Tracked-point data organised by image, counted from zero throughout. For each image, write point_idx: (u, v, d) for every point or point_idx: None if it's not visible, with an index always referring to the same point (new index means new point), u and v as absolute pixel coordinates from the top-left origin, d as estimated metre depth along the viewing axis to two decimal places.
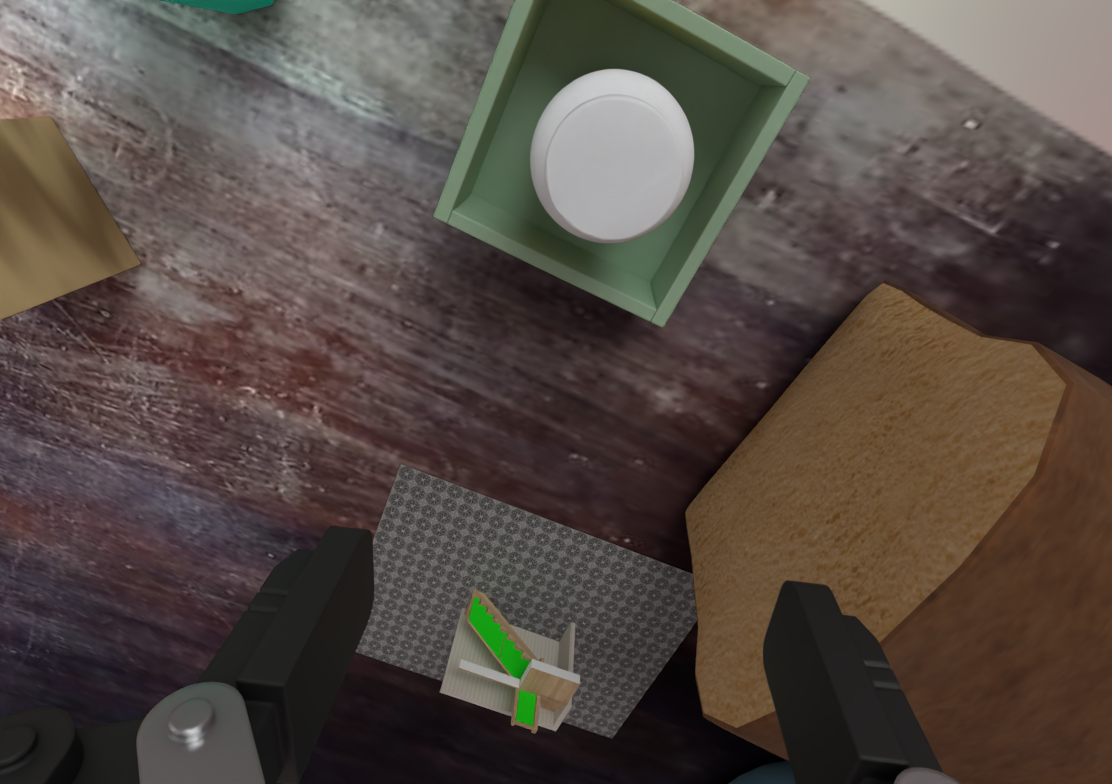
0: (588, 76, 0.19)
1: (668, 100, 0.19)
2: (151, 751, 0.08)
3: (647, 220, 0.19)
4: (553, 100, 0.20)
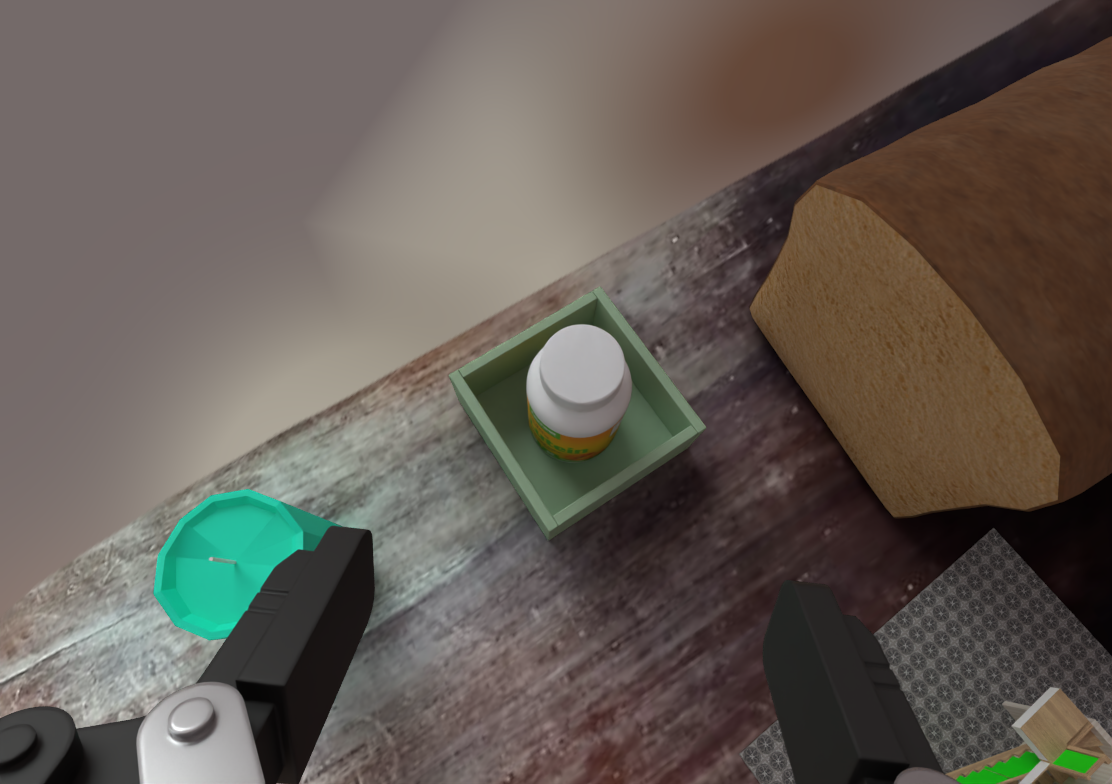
0: (529, 370, 0.32)
1: None
2: (151, 751, 0.08)
3: (619, 359, 0.29)
4: (529, 394, 0.32)
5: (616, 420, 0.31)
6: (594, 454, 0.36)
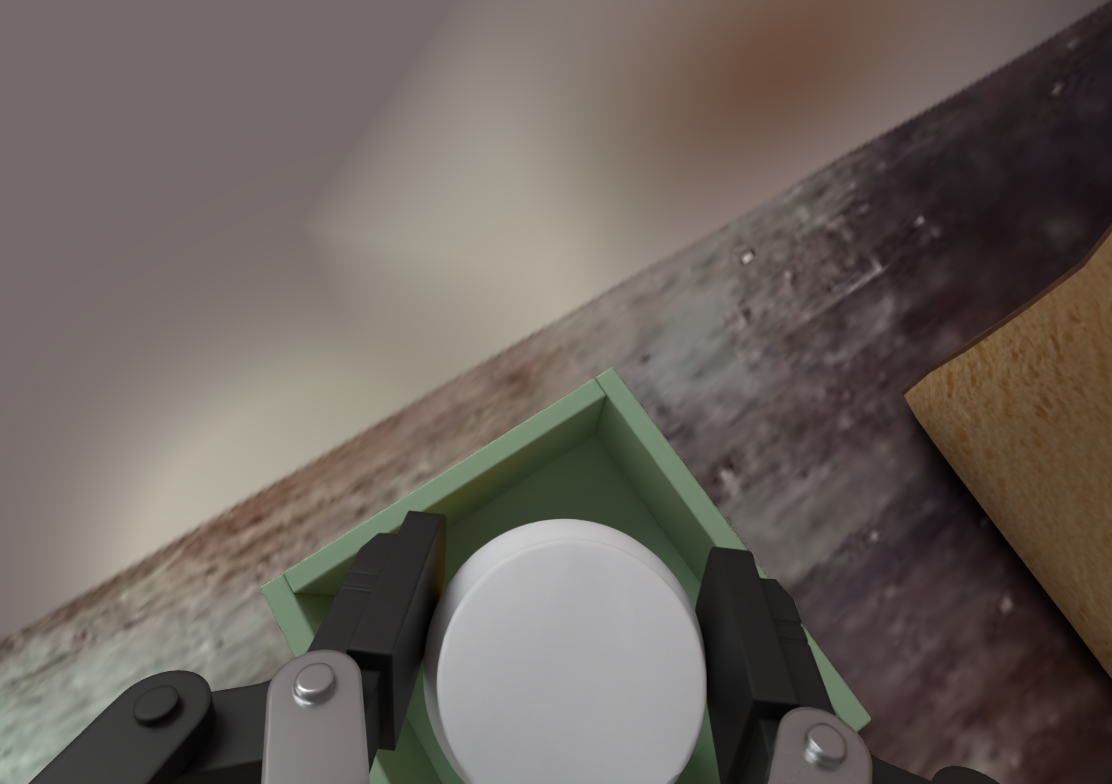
0: (429, 628, 0.12)
1: (529, 530, 0.12)
2: (278, 703, 0.08)
3: (687, 660, 0.09)
4: (426, 703, 0.11)
5: None
6: None
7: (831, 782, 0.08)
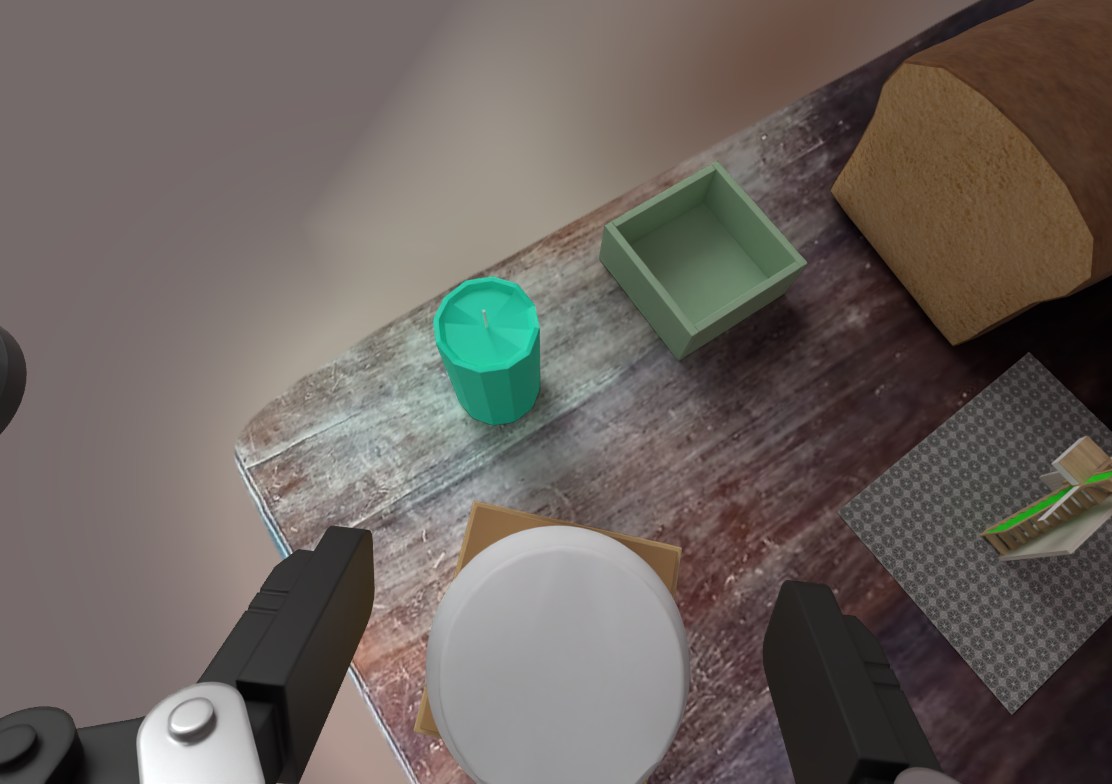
0: (432, 628, 0.13)
1: (525, 537, 0.13)
2: (151, 751, 0.08)
3: (668, 658, 0.10)
4: (429, 697, 0.12)
5: None
6: None
7: None
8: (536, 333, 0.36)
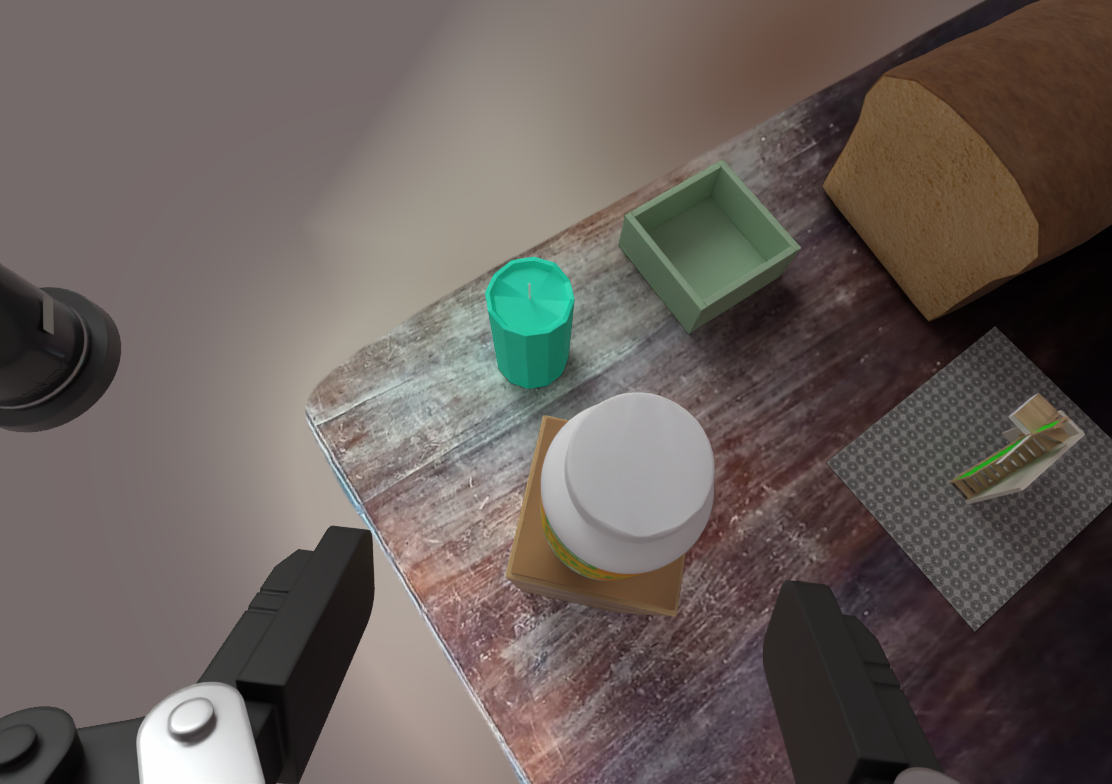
0: (545, 461, 0.20)
1: None
2: (151, 751, 0.08)
3: (704, 454, 0.17)
4: (545, 503, 0.19)
5: (690, 546, 0.19)
6: None
7: None
8: (572, 304, 0.42)
